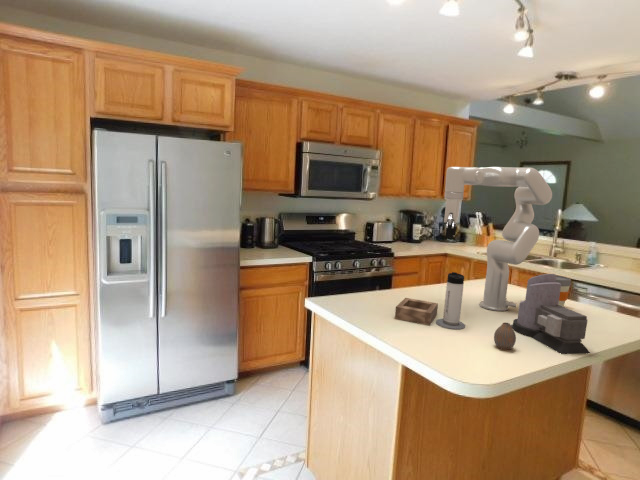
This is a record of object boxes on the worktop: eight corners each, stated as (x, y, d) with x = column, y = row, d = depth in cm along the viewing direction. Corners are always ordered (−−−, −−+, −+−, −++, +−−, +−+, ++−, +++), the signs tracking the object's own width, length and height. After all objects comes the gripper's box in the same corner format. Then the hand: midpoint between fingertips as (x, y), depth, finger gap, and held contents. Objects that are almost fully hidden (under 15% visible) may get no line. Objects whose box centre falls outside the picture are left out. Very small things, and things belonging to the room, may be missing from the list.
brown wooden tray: (436, 314, 176) (438, 303, 175) (429, 325, 161) (430, 313, 161) (404, 308, 182) (405, 297, 181) (394, 318, 167) (395, 306, 167)
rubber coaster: (466, 323, 166) (466, 321, 166) (463, 331, 157) (463, 330, 156) (438, 318, 171) (438, 316, 171) (433, 325, 161) (433, 324, 161)
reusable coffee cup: (571, 309, 195) (576, 278, 193) (559, 313, 188) (564, 281, 186) (544, 302, 205) (548, 273, 203) (532, 306, 198) (536, 275, 196)
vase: (489, 343, 146) (492, 319, 145) (507, 344, 147) (510, 320, 145) (499, 351, 139) (502, 326, 138) (518, 352, 140) (521, 327, 138)
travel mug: (457, 320, 167) (462, 272, 164) (460, 326, 161) (466, 276, 158) (441, 319, 168) (446, 271, 165) (444, 324, 161) (449, 275, 158)
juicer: (501, 324, 169) (508, 265, 165) (536, 323, 172) (543, 266, 168) (556, 354, 139) (566, 284, 136) (596, 353, 142) (607, 285, 139)
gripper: (446, 195, 183) (443, 233, 186) (442, 196, 167) (438, 238, 170) (464, 196, 180) (461, 234, 183) (461, 197, 165) (457, 239, 167)
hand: (450, 236), depth 176 cm, fingers open, 9 cm apart
